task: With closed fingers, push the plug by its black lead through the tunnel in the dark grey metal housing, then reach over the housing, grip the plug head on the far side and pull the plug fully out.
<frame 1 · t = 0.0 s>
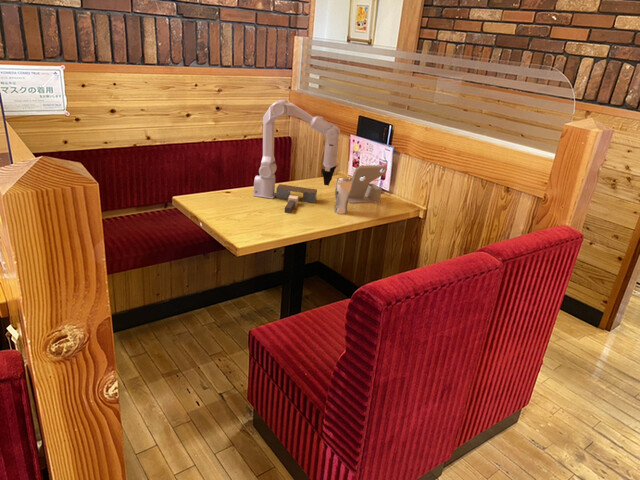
hand: (327, 182, 225), 10 cm above the table, tool pointing down, fingers open, 7 cm apart
plug: (290, 207, 219), on the table
beer glass: (340, 212, 221), on the table
phone holder: (361, 199, 240), on the table
housing: (296, 198, 231), on the table
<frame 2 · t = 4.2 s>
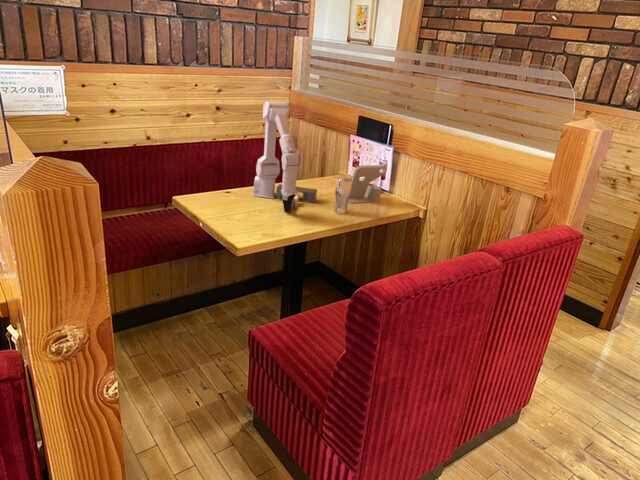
hand: (287, 211, 211), 1 cm above the table, tool pointing down, fingers closed
plug: (290, 207, 219), on the table, touching gripper
everything else where it was.
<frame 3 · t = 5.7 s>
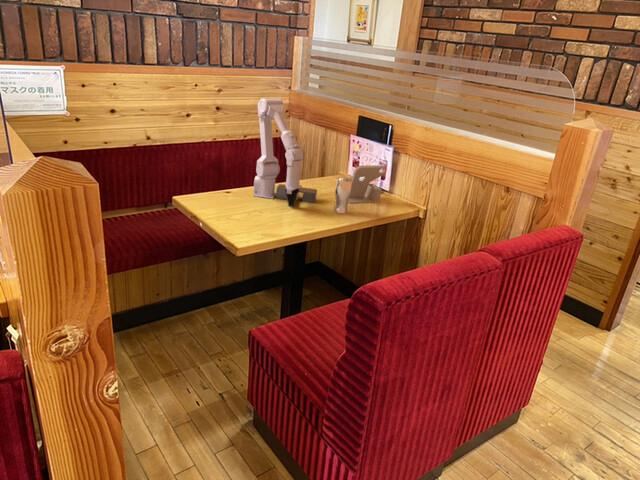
hand: (291, 204, 219), 1 cm above the table, tool pointing down, fingers closed
plug: (292, 201, 227), on the table, touching gripper
everything else where it was.
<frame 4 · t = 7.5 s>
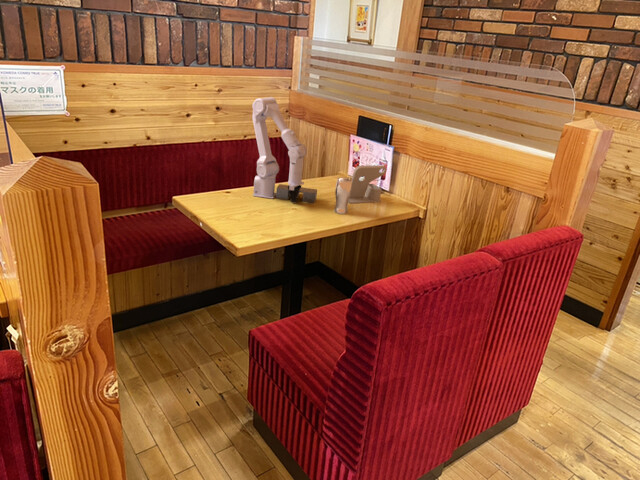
hand: (293, 201, 224), 1 cm above the table, tool pointing down, fingers closed
plug: (294, 197, 232), on the table, touching gripper
everything else where it was.
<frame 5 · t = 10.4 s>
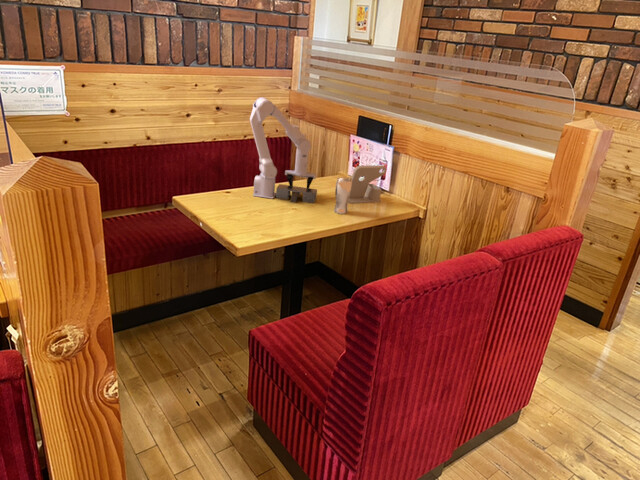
hand: (299, 191, 236), 2 cm above the table, tool pointing down, fingers open, 7 cm apart
plug: (295, 198, 232), on the table
everything else where it was.
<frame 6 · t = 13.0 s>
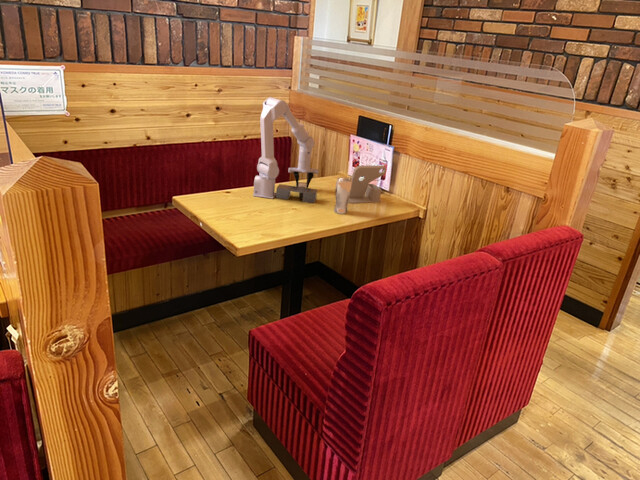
hand: (302, 187, 244), 1 cm above the table, tool pointing down, fingers closed on plug, 4 cm apart
plug: (301, 193, 239), on the table, touching gripper
everything else where it was.
when the fingers open (2 cm above the table, at t = 14.9 s): plug stays where it is, on the table.
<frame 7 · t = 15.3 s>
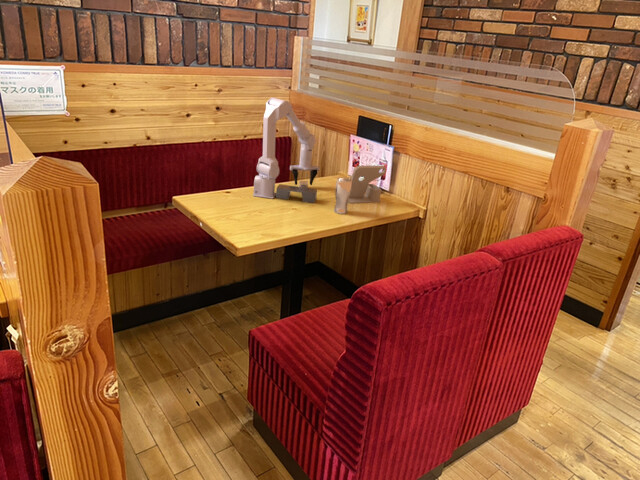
hand: (303, 184, 247), 2 cm above the table, tool pointing down, fingers open, 7 cm apart
plug: (303, 191, 242), on the table
everything else where it was.
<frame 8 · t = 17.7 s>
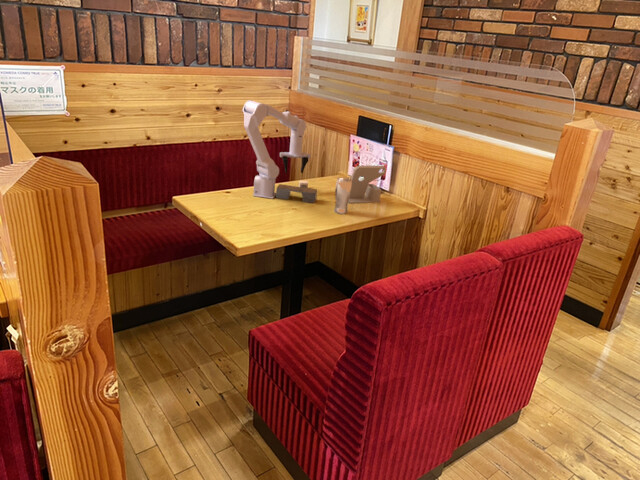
hand: (293, 172, 238), 9 cm above the table, tool pointing down, fingers open, 7 cm apart
nothing on the table moved.
at the end: plug inside the target area (4.8 cm from its centre), on the table; plug touching table; the gripper is holding nothing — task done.
